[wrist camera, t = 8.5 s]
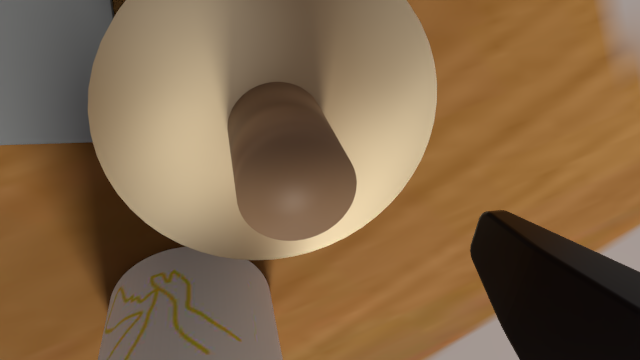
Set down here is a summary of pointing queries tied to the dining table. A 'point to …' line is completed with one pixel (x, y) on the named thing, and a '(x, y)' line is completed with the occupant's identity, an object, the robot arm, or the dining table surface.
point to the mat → (48, 68)
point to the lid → (261, 118)
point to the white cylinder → (191, 310)
